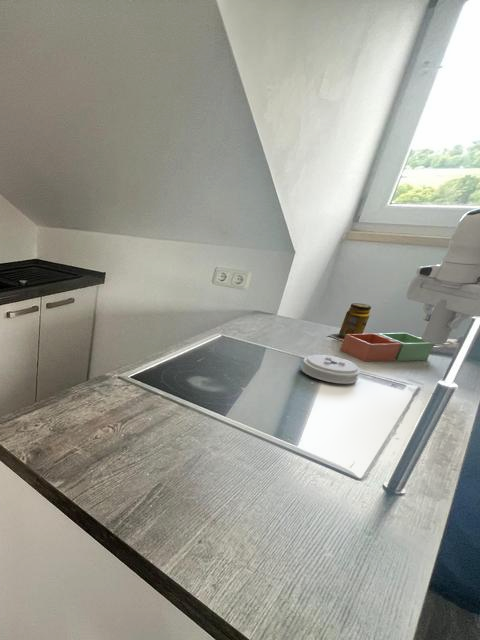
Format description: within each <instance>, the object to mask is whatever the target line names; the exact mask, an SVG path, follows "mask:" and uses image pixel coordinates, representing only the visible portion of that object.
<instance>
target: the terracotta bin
mask: <svg viewBox="0 0 480 640" xmlns="http://www.w3.org/2000/svg"><path fill="white" fill-rule="evenodd" d="M400 346H401V344H400V343H398V342H395V341H393V340H390V339H388V338H385V337H382V336H380V335H377V333H373V332H372V333H363V334H346V335H345V338H344V341H342V344H341V346H340V349H339V350H340V351H342V352H343V353H345V354H348V355H351V356H352V357H354V358H356V359H358V360H360V361H363V362H394V361H396V360H395V357H396V355H397V353H398V351H399V348H400Z"/></svg>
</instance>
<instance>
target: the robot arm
mask: <svg viewBox="0 0 480 640" xmlns="http://www.w3.org/2000/svg"><path fill="white" fill-rule="evenodd" d="M415 273H416V275H415V276H414V277H413V278H412V280H411V282H410V284H409V286H408V289H407V291H406V298H407V300H410V301H413V302H418V303H422V304H423V307H422V308H423V313H424V316H423V321H426V322H429V319H430V317H431V315H432V313H433V310H434V308H435V306H436V305H437V304H438V302H439V301H441V300H445V301H447V302H445V303H447V305H446V309H448V310H451V311H455V312H457V313H456V315H455V316H458V317H457V318H455V319H454V320H453V321H448V323H447V325H446V327H448V328H452V330H456V329H459V328H460V326H461V323H463V322H465V321H466V320H468V319H469V318H470V317H474V316H480V207H477V208H474V209H472V210H469V211H468V212H466V213H465V214H464V215H463V216H462V217H461V219H460V220H459V222H458V223H457V225H456V227H455V229H454V231H453V233H452V235H451V237H450V240H449V242H448V250H447V252H446V254H445V255H444V256H443V257H442V259H441V262H440V264H433V265H425V266H418V267H417V269H416V271H415ZM440 299H441V300H440Z"/></svg>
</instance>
